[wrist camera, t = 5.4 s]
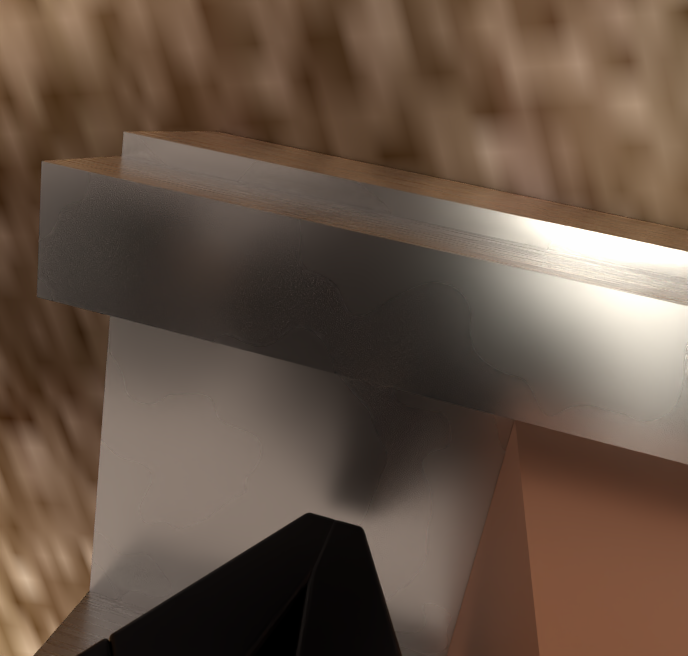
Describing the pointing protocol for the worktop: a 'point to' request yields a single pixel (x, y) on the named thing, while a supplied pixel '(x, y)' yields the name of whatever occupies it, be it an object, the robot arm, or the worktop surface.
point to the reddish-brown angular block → (579, 553)
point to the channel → (341, 357)
